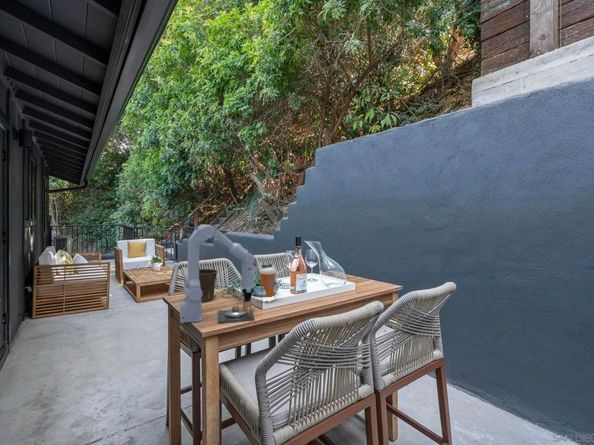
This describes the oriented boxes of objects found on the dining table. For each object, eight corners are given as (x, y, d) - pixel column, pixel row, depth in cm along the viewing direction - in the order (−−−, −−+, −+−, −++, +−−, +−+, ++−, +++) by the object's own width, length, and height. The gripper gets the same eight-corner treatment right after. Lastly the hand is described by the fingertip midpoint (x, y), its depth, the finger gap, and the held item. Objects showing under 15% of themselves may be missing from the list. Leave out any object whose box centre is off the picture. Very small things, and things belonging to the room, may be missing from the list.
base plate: (218, 323, 143) (218, 321, 143) (218, 312, 158) (217, 310, 158) (254, 320, 147) (254, 318, 146) (250, 310, 162) (250, 307, 162)
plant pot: (217, 295, 192) (217, 268, 192) (218, 302, 177) (217, 273, 176) (188, 297, 188) (188, 269, 188) (186, 304, 172) (186, 274, 172)
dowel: (246, 317, 148) (246, 307, 148) (246, 316, 149) (246, 306, 149) (250, 316, 148) (250, 307, 148) (250, 315, 150) (250, 306, 150)
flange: (232, 318, 145) (232, 308, 145) (220, 313, 152) (220, 304, 152) (256, 311, 155) (256, 302, 154) (244, 307, 162) (244, 298, 162)
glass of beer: (256, 300, 180) (256, 264, 179) (269, 297, 186) (269, 263, 185) (265, 304, 173) (265, 266, 172) (279, 301, 179) (278, 265, 178)
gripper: (257, 278, 156) (257, 306, 156) (253, 273, 170) (253, 299, 170) (242, 279, 154) (242, 307, 155) (240, 274, 168) (240, 300, 169)
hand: (247, 303), depth 162 cm, fingers closed
